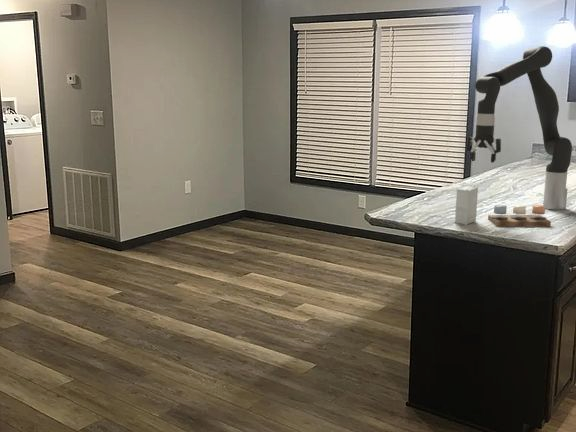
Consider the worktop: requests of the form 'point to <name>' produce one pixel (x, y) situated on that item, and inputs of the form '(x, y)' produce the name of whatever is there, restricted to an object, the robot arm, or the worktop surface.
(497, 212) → the button slate
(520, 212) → the button cream
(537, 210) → the button terracotta
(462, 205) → the skincare box
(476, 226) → the worktop surface
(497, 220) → the board
